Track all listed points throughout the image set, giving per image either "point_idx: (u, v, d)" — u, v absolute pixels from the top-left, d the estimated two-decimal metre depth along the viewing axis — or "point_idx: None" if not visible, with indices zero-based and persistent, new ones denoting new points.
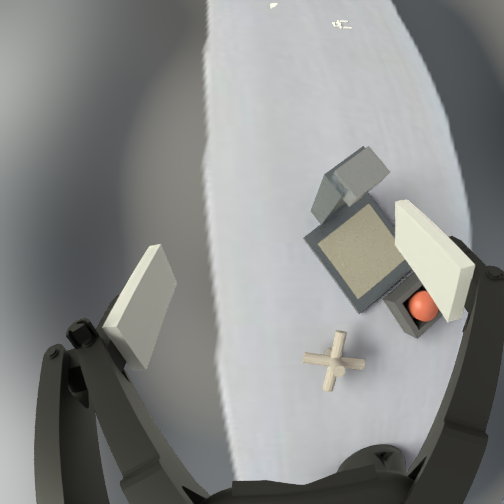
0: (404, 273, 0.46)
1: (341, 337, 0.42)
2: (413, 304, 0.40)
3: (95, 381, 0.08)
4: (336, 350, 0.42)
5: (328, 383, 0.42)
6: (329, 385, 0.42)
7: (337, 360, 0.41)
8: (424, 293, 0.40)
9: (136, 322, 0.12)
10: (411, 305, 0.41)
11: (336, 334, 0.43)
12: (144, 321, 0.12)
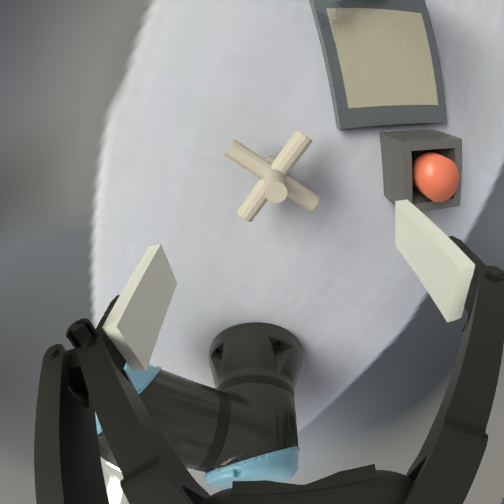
0: (424, 120, 0.27)
1: (302, 143, 0.25)
2: (426, 163, 0.24)
3: (95, 381, 0.08)
4: (284, 159, 0.26)
5: (249, 206, 0.28)
6: (249, 210, 0.28)
7: (279, 174, 0.25)
8: (447, 160, 0.23)
9: (136, 322, 0.12)
10: (421, 162, 0.25)
11: (296, 134, 0.25)
12: (144, 321, 0.12)
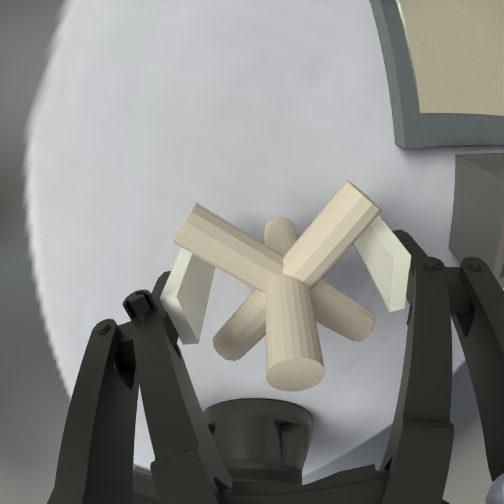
0: None
1: (361, 219, 0.10)
2: None
3: (146, 356, 0.09)
4: (315, 255, 0.11)
5: (235, 340, 0.13)
6: (236, 347, 0.14)
7: (304, 302, 0.10)
8: None
9: (190, 295, 0.13)
10: None
11: (346, 195, 0.10)
12: (195, 295, 0.13)
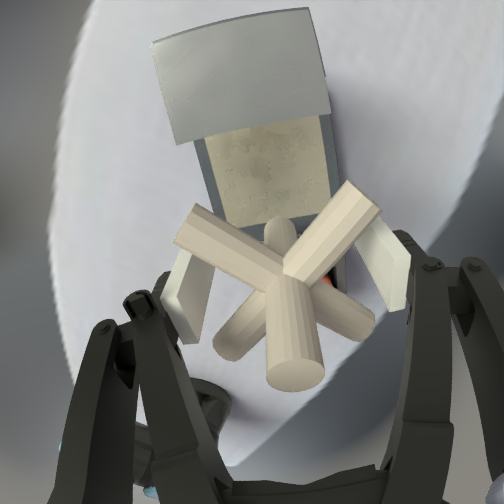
0: None
1: (361, 218, 0.10)
2: None
3: (146, 356, 0.09)
4: (315, 255, 0.11)
5: (235, 341, 0.13)
6: (236, 347, 0.14)
7: (304, 303, 0.10)
8: None
9: (190, 295, 0.13)
10: None
11: (346, 195, 0.10)
12: (195, 295, 0.13)
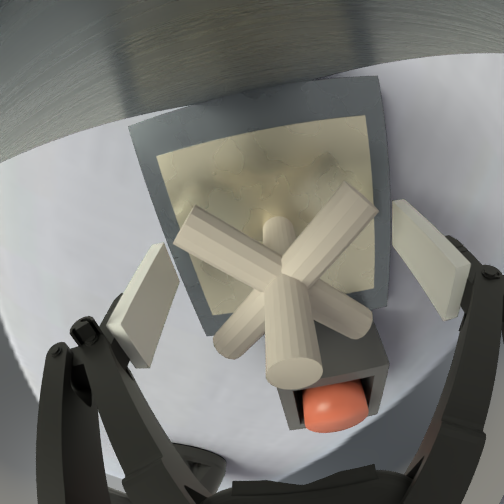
0: None
1: (358, 219, 0.10)
2: (312, 407, 0.18)
3: (99, 379, 0.08)
4: (313, 256, 0.11)
5: (235, 339, 0.14)
6: (236, 345, 0.14)
7: (302, 302, 0.11)
8: (348, 405, 0.17)
9: (140, 320, 0.12)
10: (310, 398, 0.19)
11: (343, 196, 0.10)
12: (147, 319, 0.12)
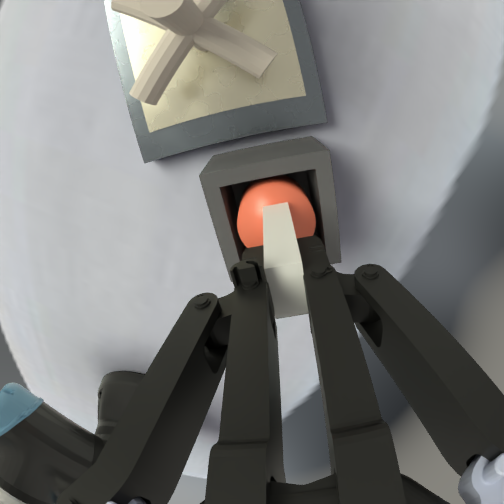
0: (281, 125, 0.19)
1: None
2: (243, 200, 0.18)
3: (242, 330, 0.09)
4: None
5: (145, 74, 0.12)
6: (145, 81, 0.13)
7: None
8: (282, 190, 0.17)
9: None
10: (243, 198, 0.18)
11: None
12: None
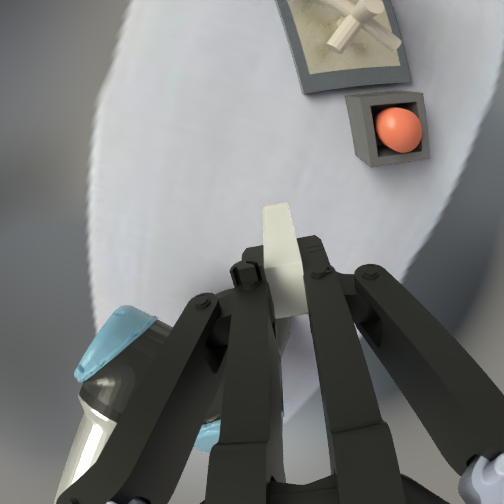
0: (387, 81, 0.28)
1: None
2: (385, 116, 0.25)
3: (242, 330, 0.09)
4: None
5: (340, 36, 0.21)
6: (340, 39, 0.21)
7: None
8: (406, 111, 0.24)
9: None
10: (381, 116, 0.26)
11: None
12: None
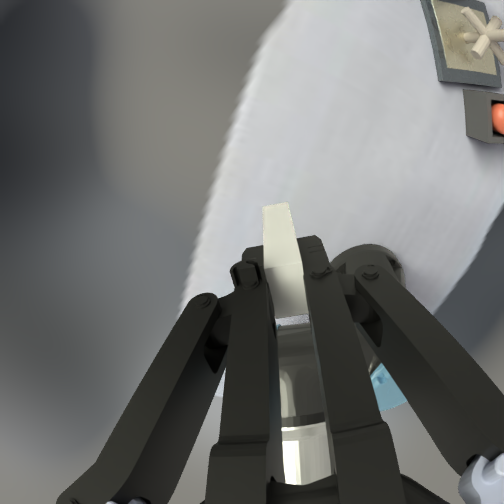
0: (489, 84, 0.28)
1: (499, 22, 0.18)
2: (499, 108, 0.26)
3: (242, 330, 0.09)
4: (493, 27, 0.19)
5: (481, 47, 0.21)
6: (481, 50, 0.22)
7: None
8: None
9: None
10: (495, 108, 0.27)
11: (495, 17, 0.18)
12: None
